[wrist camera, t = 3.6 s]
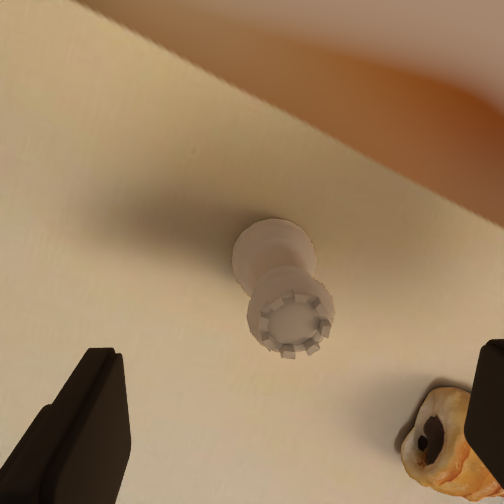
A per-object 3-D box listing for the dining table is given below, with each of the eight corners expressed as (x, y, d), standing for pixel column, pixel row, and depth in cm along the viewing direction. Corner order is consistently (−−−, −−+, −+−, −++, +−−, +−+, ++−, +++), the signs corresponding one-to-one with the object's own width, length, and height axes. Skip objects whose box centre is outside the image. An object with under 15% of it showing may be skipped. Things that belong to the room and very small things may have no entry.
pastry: (557, 411, 25) (613, 459, 21) (504, 487, 27) (547, 543, 23) (431, 374, 24) (467, 419, 20) (385, 457, 25) (410, 511, 22)
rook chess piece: (220, 279, 21) (212, 362, 13) (248, 204, 20) (257, 248, 12) (294, 304, 22) (327, 396, 14) (325, 232, 20) (380, 290, 13)
